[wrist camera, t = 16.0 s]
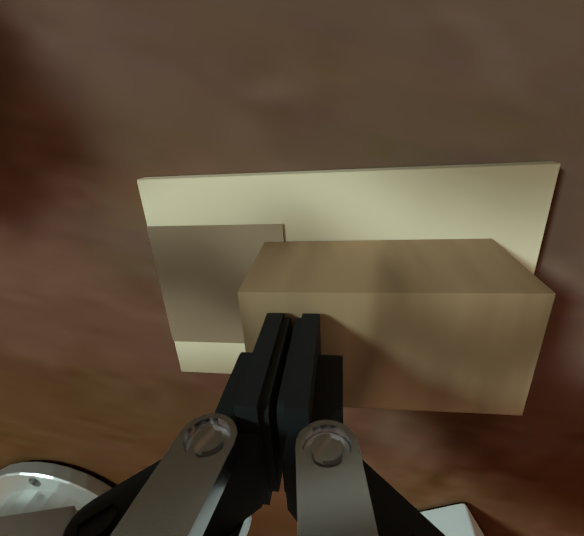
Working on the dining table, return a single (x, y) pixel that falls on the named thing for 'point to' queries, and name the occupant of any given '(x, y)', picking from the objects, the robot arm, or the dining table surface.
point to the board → (319, 229)
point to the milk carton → (454, 520)
